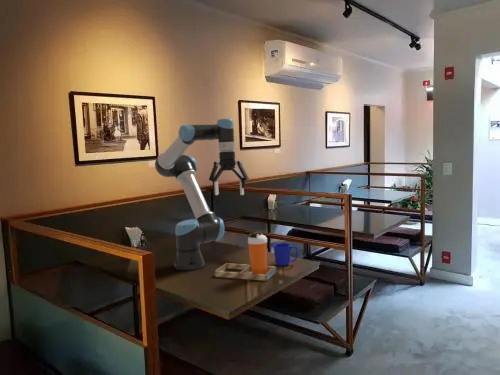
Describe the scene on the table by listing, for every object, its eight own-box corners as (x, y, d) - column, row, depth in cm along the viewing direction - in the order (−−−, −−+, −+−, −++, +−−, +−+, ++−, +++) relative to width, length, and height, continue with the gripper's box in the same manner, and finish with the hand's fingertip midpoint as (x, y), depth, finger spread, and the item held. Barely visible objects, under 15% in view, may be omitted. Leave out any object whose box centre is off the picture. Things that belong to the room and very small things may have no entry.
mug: (297, 267, 202) (296, 247, 201) (273, 267, 204) (272, 247, 203) (299, 262, 210) (298, 243, 209) (275, 262, 212) (274, 243, 211)
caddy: (214, 276, 194) (213, 271, 194) (226, 268, 207) (226, 263, 206) (266, 280, 184) (266, 275, 184) (276, 271, 197) (275, 266, 196)
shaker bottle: (271, 272, 195) (269, 231, 193) (264, 278, 187) (262, 235, 185) (254, 271, 199) (252, 230, 197) (246, 277, 191) (244, 234, 189)
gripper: (200, 152, 201) (203, 195, 203) (247, 150, 192) (250, 195, 194) (207, 151, 208) (210, 193, 210) (253, 149, 199) (256, 193, 201)
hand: (229, 194), depth 202 cm, fingers open, 13 cm apart
